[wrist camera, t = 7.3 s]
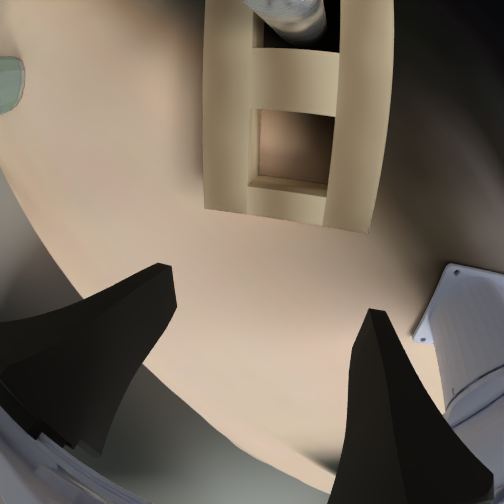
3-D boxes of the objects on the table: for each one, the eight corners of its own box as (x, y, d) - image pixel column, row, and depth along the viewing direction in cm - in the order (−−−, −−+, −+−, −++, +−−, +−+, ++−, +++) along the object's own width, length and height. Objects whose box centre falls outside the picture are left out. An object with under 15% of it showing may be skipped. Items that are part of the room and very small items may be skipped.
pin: (329, 8, 11) (319, -52, 5) (325, 50, 13) (313, 12, 6) (279, 3, 12) (234, -53, 5) (274, 44, 14) (225, 8, 7)
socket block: (384, -18, 9) (390, -33, 7) (364, 217, 18) (367, 234, 16) (224, -24, 11) (208, -37, 9) (219, 195, 20) (204, 208, 18)
